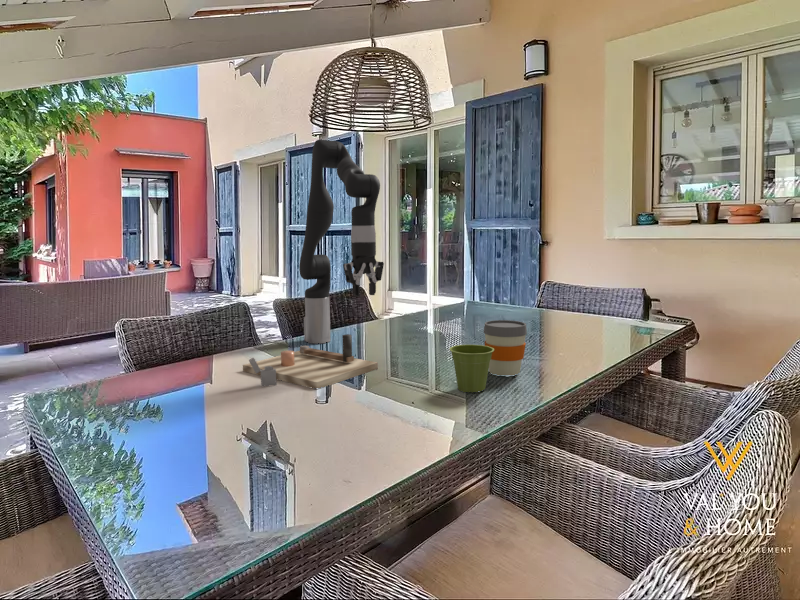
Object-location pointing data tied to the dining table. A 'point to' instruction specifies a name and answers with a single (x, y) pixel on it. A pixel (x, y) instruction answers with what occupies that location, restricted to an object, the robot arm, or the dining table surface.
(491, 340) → the reusable coffee cup
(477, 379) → the plant pot
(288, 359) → the peach rounded cube
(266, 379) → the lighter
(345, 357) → the lever
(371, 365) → the board
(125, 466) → the dining table surface
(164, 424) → the dining table surface
